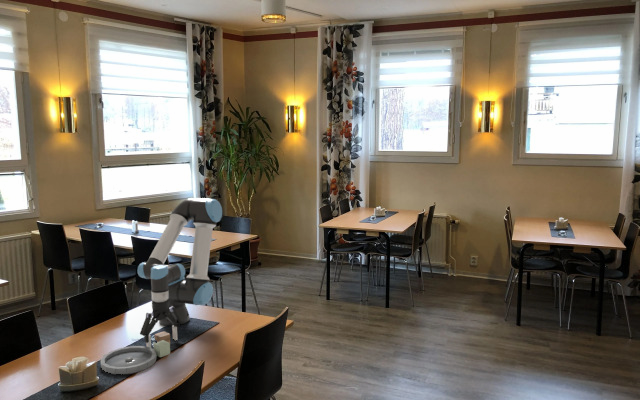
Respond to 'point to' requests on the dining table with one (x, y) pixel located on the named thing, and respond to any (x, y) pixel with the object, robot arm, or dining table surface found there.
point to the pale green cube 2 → (162, 348)
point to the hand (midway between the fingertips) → (162, 344)
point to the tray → (128, 360)
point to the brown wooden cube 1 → (162, 336)
